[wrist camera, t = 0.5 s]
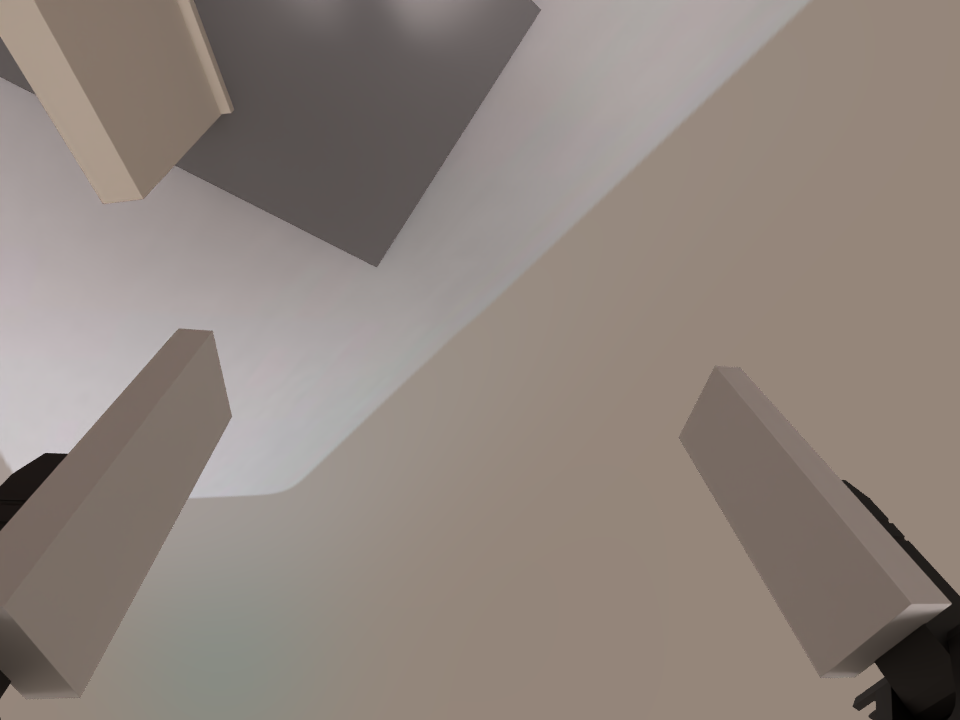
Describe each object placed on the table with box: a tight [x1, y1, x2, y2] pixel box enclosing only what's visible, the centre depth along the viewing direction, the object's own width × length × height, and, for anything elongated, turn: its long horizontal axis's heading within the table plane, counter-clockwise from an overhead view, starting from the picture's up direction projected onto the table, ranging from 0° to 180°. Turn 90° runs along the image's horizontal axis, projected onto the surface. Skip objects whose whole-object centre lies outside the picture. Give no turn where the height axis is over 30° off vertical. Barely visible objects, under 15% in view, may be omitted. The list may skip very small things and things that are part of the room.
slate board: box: [0, 0, 541, 267], centre depth 25 cm, size 19×25×1 cm
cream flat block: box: [0, 0, 221, 204], centre depth 19 cm, size 2×9×12 cm, turn 4°
